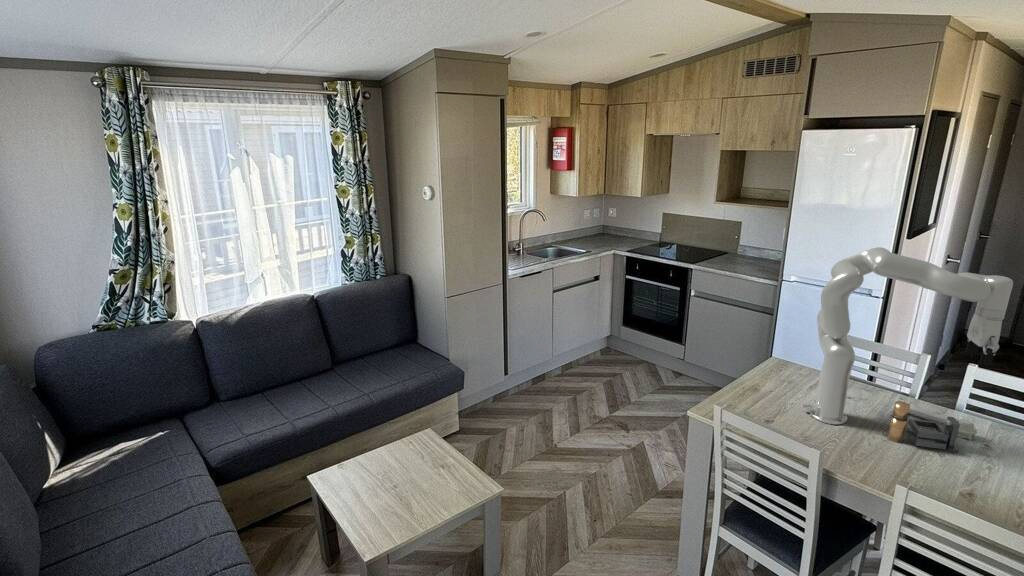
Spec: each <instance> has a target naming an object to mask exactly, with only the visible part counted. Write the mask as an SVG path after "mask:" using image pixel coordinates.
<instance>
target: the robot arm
mask: <svg viewBox="0 0 1024 576" xmlns="http://www.w3.org/2000/svg"><path fill="white" fill-rule="evenodd" d="M830 270H831V271H830V274H831V278H832V279H830V280H828V282H827V283H826V284H825V286H824V287H823V289H822V291H821V294H820V304H821V306H820V308H821V309H820V310H819V311H818V313H817V316H816V321H817V333H818V341H819V347H820V349H821V351H822V353H823V361H822V365H821V369H820V374H819V380H818V381H819V382H818V385H817V386H818V387H817V394H816V400H813V402H811V403H808V402H801V408H803V409H804V408H805V410H806V411H808V412H809V415H810V416H811V417H812V418H813V419H815V420H816V421H819V422H822V423H824V424H827V425H828V424H830V425H843V424H845V423H847V422H848V415H847V414H846V413H845V412H844V411H845V408H846V407H845V406H846V400H847V395H848V390H849V384H850V378H851V373H852V369H853V367H854V364H855V360H856V352H855V350H854V347H853V346H852V345H851V343H850V341H849V339H848V335H849V333H850V330H851V321H850V313H849V298H850V296H851V294H853V293H854V292H855V291H856V290H858V289H859V288H860V287H861V286H862V284H863V283H864V277H865V276H866V275H868V274H871V273H873V274H876V275H878V276H881V277H884V278H887V279H892V280H895V281H900V282H903V283H908V284H911V285H915V286H918V287H921V288H923V289H927V290H929V291H932V292H935V293H938V294H939V293H940V294H942V295H945V296H949V297H950V298H951V297H952V298H954V299H955V298H956V299H959V300H963V301H967V302H972V303H974V302H975V303H976V307H975V312H974V313H973V316H972V318H971V320H970V324H969V327H968V330H967V333H966V337H967V344H966V348H965V353H966V354H974V355H975V354H976V355H977V354H978V350H979V347H980V348H982V351H983V352H982V353H981V356H980V360H979V365H981V366H992V364H993V361H994V357H995V356H996V354H997V353H998V350H999V349H1000V345H999V341H1000V337H1001V332H1002V325H1003V324H1002V323H1003V320H1004V319H1005V315H1006V312H1007V308H1008V304H1009V300H1010V297H1011V293H1012V290H1013V286H1014V281H1013V280H1012V279H1011V278H1009V277H1006V276H1004V275H993V274H992V275H986V274H985V275H984V274H981V273H980V274H978V273H972V272H969V271H968V272H959V273H954V272H951V271H950V270H949V271H948V270H946V269H944V268H941V267H940V266H938V265H936V264H934V263H932V262H928V261H926V260H922V259H917V258H914V257H909V256H905V255H902V254H898V253H893V252H891V251H890V250H888V249H887V248H885V247H873V248H870V249H867V250H865V251H861V252H859V253H856V254H854V255H851V256H849V257H846V258H843V259H841V260H839V261H837V262H836V263H835V264H833V266H832V267H831V269H830Z"/></svg>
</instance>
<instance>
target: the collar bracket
mask: <svg viewBox="0 0 1024 576" xmlns="http://www.w3.org/2000/svg"><path fill="white" fill-rule="evenodd" d="M945 423H946V424H945V426H942V425H941V423H939V422H936V421H932V420H927V419H925V420H923V419H916V418H908V420H907V424H908V426H906V429H905V432H906V434H907V436H908V437H909V438H910V440H911V441H912V442H913V444H914V445H915V446H917V447H918V446H919V447H924V448H925V447H926V448H933V449H941V450H945V451H946V452H949V453H956V454H958V453H959V451H960V450H959V448H958V447H957V446H956V442H957V437H958V435H957V434H958V430H959V426H960V424H959V423H958V422H957V421H956V420H955V417H954V416H950V417H948V418H947V420H946V422H945ZM921 427H923V428H921ZM926 428H927V429H926ZM928 428H932V429H928ZM922 438H923V439H922ZM924 438H926V439H924ZM929 439H933V440H929Z"/></svg>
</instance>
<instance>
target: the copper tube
mask: <svg viewBox="0 0 1024 576" xmlns="http://www.w3.org/2000/svg"><path fill="white" fill-rule="evenodd" d="M905 402H906V401H903V402H902V401H901V400H898V401H894V404H893V410H892V415H891V420H890V423H889V424H890V425H889V429H888V435H887V439H888V440H889V441H891V442H893V443H903V441H904V437H905V432H906V429H907V424H908V419H909V415H910V414H909V409H910V405H909V404H908V403H909V402H906V403H905Z"/></svg>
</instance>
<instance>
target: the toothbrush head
mask: <svg viewBox="0 0 1024 576" xmlns="http://www.w3.org/2000/svg"><path fill="white" fill-rule="evenodd" d="M902 402H905V403H908V404H909V405H910V409H909V414H908V415H911V416H915V417H918V418H921V419H925V420H928V421H935V422H939V424H943V425H946V423H945V422H946V420H947V418H948V417H951V416H949V415H946V414H944V413H940V412H937V411H934V410H931V409H927V408H925V407H921V406H918V405H916V404H913V403H911V402H906V401H902ZM954 418H955V417H954ZM955 420H956V421H957V422H958V423H959V424H960V426H959V430H958V434H957V437H959V438H960V437H961V439H963V438H965V439H968V440H969V441H970V440H975V439H976V435H977V434H978V431H977V430H976V429H975V426H974V423H973V421H970V420H968V419H958V418H955Z"/></svg>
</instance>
